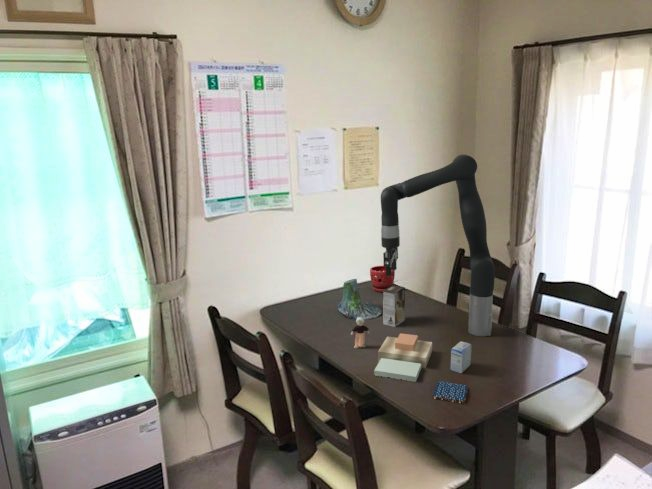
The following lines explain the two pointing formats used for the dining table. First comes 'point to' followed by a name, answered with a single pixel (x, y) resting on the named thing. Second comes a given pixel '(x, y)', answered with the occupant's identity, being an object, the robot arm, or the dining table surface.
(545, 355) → the dining table surface
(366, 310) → the tree stump
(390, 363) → the mat
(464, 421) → the dining table surface
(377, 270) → the plant pot
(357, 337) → the grandmother figurine
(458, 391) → the woven mat
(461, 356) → the medicine box
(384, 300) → the coffee box
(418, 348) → the beige flat block
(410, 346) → the tile
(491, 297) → the robot arm
